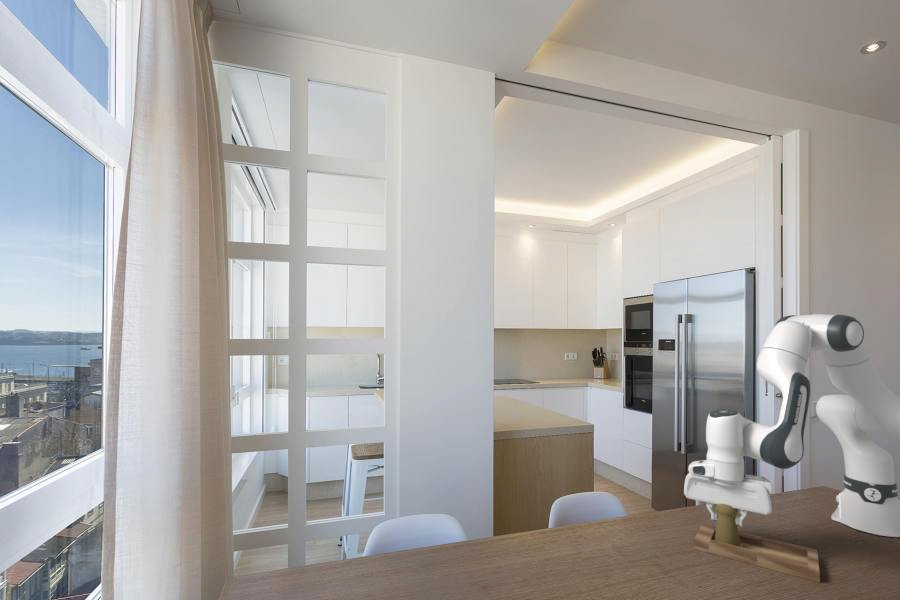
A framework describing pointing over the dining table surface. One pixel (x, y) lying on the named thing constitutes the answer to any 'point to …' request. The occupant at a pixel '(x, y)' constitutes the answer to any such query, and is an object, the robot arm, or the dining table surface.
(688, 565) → the dining table surface
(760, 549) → the keyhole board
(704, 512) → the dining table surface
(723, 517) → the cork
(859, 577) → the dining table surface
